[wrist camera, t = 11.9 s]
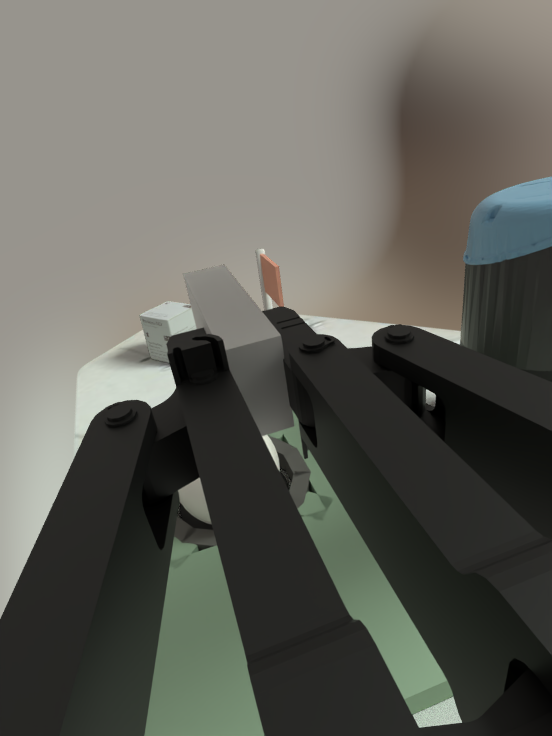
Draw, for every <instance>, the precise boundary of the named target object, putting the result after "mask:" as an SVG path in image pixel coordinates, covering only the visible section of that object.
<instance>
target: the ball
mask: <svg viewBox="0 0 552 736" xmlns="http://www.w3.org/2000/svg"><path fill="white" fill-rule="evenodd" d="M262 437H263V439H264V441H265V443H266V445H267V447H268V449H269V451H270V453H271V455H272V458H273V460H274V462H275V464H276V466H277V468H278V470H279V472H280V466H279V458H278V454H277V451H276V449H275V446H274V444H273V443H272V441H271V439H270V438H269V437H268V435H265V436H262ZM178 492H179V499H180V500H179V501H180V503H181V504H182V505H183V507H184V508H185V509H186V510H187V511H188V512H189V513H190V514H191V515H193V516H194V517H195V518H197V519H199V520H200V521H202V522H205V523H208V524H211V525H212V523H211V520H210V516H209V512H208V508H207V504H206V500H205V496H204V492H203V488H202V485H201V481H200V478H198V479H196V480H195V481H193V482H191V483H190V484H188V485H186V486H185V487H183V488H181V489H179V490H178Z"/></svg>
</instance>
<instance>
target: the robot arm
mask: <svg viewBox="0 0 552 736" xmlns="http://www.w3.org/2000/svg"><path fill="white" fill-rule="evenodd" d="M463 259H464V262H465V263H466V266H465V281H464V297H463V313H462V325H461V340H460V345H459V344H457V343H454V342H452V341H449V340H447V339H444V338H442V337H439V336H437V335H434V334H432V333H430V332H427V331H425V330H422V329H420V328H416V327H413V326H406V325H400V324H399V325H395V326H394V325H391V326H388V327H385V328H382V329H380V330H378V331H376V332H375V333H374V334H373V336H372V347H362V348H346V347H345V346H344V345H343V344H342V343H341V342H340V341H339V340H338V339H336V338H335V337H333V336H329V335H324V334H316V333H315V332H314V331H313V330H312V329H311V328H310V327H309V326H308V325H307V324H306V323H305V322H304V321H303V319H302V318H300V316H299V315H298V314H297V313H296V312H295V311H294V310H291V309H289V308H286V307H283V306H281V307H277V308H273V309H269V310H265V311H261V310H260V308H259V307H258V306H257V305H256V303H255V302H254V301H253V300H252V298H251V297H250V296H249V295H248V293H247V292H246V291H245V290H244V288H243V287H242V286H241V285H240V283H239V282H238V281H237V280H236V278H235V277H234V276H233V275H232V273H231V272H230V271H229V270H228V268H227V267H226V266H225V265H220V266H216V267H211V268H207V269H202V270H198V271H194V272H189V273H185V274H183V276H184V279H185V284H186V287H187V292H188V296H189V300H190V304H191V308H192V312H193V316H194V320H195V324H196V328H197V329H195V330H191V331H188V332H184V333H180V334H176V335H172V336H171V337H170V339H169V341H168V342H167V344H166V345H167V349H168V352H167V356H168V359H169V363H170V366H171V370H172V373H173V377H174V380H175V384H176V389H175V391H174V393H173V394H172V395H171V396H170V397H169V398H168V399H167V400H166V401H164V402H163V403H161V404H159V405H157V406H155V407H153V408H151V407H150V406H149V405H148V404H147V403H146V402H143V401H139V400H127V401H123V402H117V403H115V404H113V405H110V406H108V407H106V408H105V409H103V410H102V411H101V412H99V413H98V414H97V415H96V416H95V417H94V419H93V420H92V421H91V423H90V425H89V427H88V429H87V432H86V434H85V436H84V438H83V440H82V443H81V445H80V447H79V449H78V451H77V453H76V456H75V458H74V460H73V462H72V464H71V466H70V469H69V471H68V473H67V475H66V477H65V480H64V482H63V484H62V486H61V488H60V490H59V493H58V495H57V497H56V499H55V501H54V503H53V506H52V508H51V510H50V512H49V515H48V517H47V519H46V521H45V523H44V525H43V528H42V530H41V532H40V534H39V536H38V538H37V540H36V543H35V545H34V547H33V549H32V551H31V554H30V556H29V558H28V560H27V562H26V564H25V567H24V569H23V571H22V573H21V575H20V577H19V580H18V582H17V584H16V586H15V588H14V591H13V593H12V595H11V597H10V599H9V602H8V604H7V606H6V608H5V610H4V612H3V615H2V617H1V619H0V736H144V735H145V728H146V722H147V715H148V708H149V702H150V695H151V688H152V681H153V675H154V668H155V661H156V655H157V648H158V641H159V634H160V628H161V621H162V614H163V608H164V601H165V594H166V587H167V581H168V574H169V567H170V561H171V554H172V547H173V540H174V534H175V527H176V520H177V513H178V507H179V500H180V499H179V492H178V490H179V489H181V488H183V487H185V486H186V485H188V484H190V483H191V482H193V481H195V480H196V479H198V478H200V481H201V485H202V488H203V492H204V496H205V500H206V504H207V508H208V512H209V516H210V520H211V523H212V527H213V531H214V535H215V539H216V543H217V547H218V551H219V555H220V558H221V562H222V566H223V570H224V574H225V578H226V582H227V586H228V590H229V593H230V597H231V601H232V605H233V609H234V613H235V617H236V621H237V625H238V628H239V632H240V636H241V640H242V644H243V648H244V652H245V656H246V660H247V668H248V672H249V677H250V681H251V685H252V689H253V693H254V697H255V701H256V705H257V708H258V712H259V716H260V720H261V724H262V728H263V732H264V736H552V177H548V178H543V179H538V180H534V181H530V182H526V183H522V184H518V185H516V186H512V187H509V188H506V189H503V190H501V191H498V192H496V193H494V194H492V195H490V196H489V197H487V198H485V199H484V200H483V201H482V202H480V204H479V205H478V206H477V207H476V209H475V210H474V211H473V214H472V216H471V220H470V226H469V234H468V242H467V249H466V251H465V253H464V257H463ZM426 389H427V390H429V391H431V392H433V393H435V394H436V405H435V407H432V406H430V405H428V404H427V403H426ZM292 410H293V412H294V413H295V415H296V416H297V418H298V422H299V429H300V436H301V443H302V450H303V456H304V459H307V458H308V450H310V452H311V454H312V455H313V457H314V459H315V460H316V462H317V464H318V465H319V467H320V469H321V470H322V472H323V474H324V475H325V477H326V479H327V480H328V482H329V484H330V485H331V487H332V489H333V490H334V492H335V494H336V495H337V497H338V499H339V500H340V502H341V504H342V505H343V507H344V509H345V510H346V512H347V514H348V515H349V517H350V519H351V520H352V522H353V524H354V525H355V527H356V529H357V530H358V532H359V534H360V535H361V537H362V539H363V540H364V542H365V544H366V545H367V547H368V549H369V550H370V552H371V554H372V555H373V557H374V559H375V560H376V562H377V564H378V565H379V567H380V569H381V570H382V572H383V574H384V575H385V577H386V579H387V580H388V582H389V584H390V585H391V587H392V589H393V590H394V592H395V594H396V595H397V597H398V599H399V600H400V602H401V604H402V605H403V607H404V609H405V610H406V612H407V614H408V615H409V617H410V619H411V620H412V622H413V624H414V625H415V627H416V629H417V630H418V632H419V634H420V635H421V637H422V639H423V640H424V642H425V644H426V645H427V647H428V649H429V650H430V652H431V654H432V655H433V657H434V659H435V660H436V662H437V664H438V665H439V667H440V669H441V670H442V672H443V674H444V676H445V677H446V679H447V681H448V683H449V686H450V688H451V690H452V693H453V696H454V699H455V703H456V706H457V709H458V713H459V716H460V718H461V720H462V723H457V724H448V725H440V726H431V727H423V728H419V727H418V725H417V723H416V721H415V719H414V717H413V715H412V714H411V712H410V710H409V708H408V706H407V704H406V702H405V700H404V698H403V696H402V694H401V692H400V690H399V688H398V686H397V684H396V682H395V680H394V678H393V676H392V674H391V673H390V671H389V669H388V667H387V665H386V663H385V661H384V659H383V657H382V655H381V653H380V651H379V649H378V647H377V645H376V643H375V642H374V640H373V638H372V636H371V635H370V633H369V631H368V629H367V628H366V627H365V625H364V624H363V623H362V622H361V621H360V620H356V619H353V618H352V617H351V616H350V614H349V612H348V611H347V609H346V607H345V605H344V603H343V601H342V599H341V597H340V595H339V593H338V591H337V589H336V586H335V584H334V582H333V580H332V578H331V576H330V574H329V572H328V570H327V568H326V566H325V564H324V562H323V560H322V558H321V556H320V554H319V552H318V550H317V548H316V546H315V543H314V541H313V539H312V537H311V535H310V533H309V531H308V529H307V527H306V525H305V523H304V521H303V519H302V517H301V515H300V513H299V511H298V509H297V507H296V505H295V503H294V501H293V498H292V496H291V494H290V492H289V490H288V488H287V486H286V484H285V482H284V480H283V478H282V476H281V474H280V472H279V470H278V468H277V466H276V464H275V462H274V460H273V458H272V455H271V453H270V451H269V449H268V447H267V445H266V443H265V441H264V439H263V437H262V436H265V435H268V434H271V433H274V432H278V431H281V430H284V429H287V428H291V427H294V419H293V412H292Z"/></svg>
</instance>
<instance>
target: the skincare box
mask: <svg viewBox="0 0 552 736" xmlns="http://www.w3.org/2000/svg"><path fill="white" fill-rule="evenodd" d="M140 320H141V323H142V327H143V331H144V335H145V339H146V342H147V346H148V350H149V354H150V357H151V358H152V359H155V360H159V361H163V362H167V363H169V359H168V356H167V352H168V349H167V345H166V344H167V342H168V341H169V339H170V337H171V336H172V335H176V334H180V333H184V332H188V331H191V330H195V329H197V328H196V324H195V320H194V316H193V312H192V308H191V305H190V304H185V303H180V302H170V301H167V302H165V303H163V304H161V305H159V306H157V307H155V308H153V309H150V310H148V311H146V312H144V313H142V314H141V315H140Z"/></svg>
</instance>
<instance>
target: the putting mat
mask: <svg viewBox="0 0 552 736" xmlns="http://www.w3.org/2000/svg"><path fill="white" fill-rule="evenodd" d="M256 258H257V264H258V271H259V278H260V285H261V292H262V298H263V305H264V311H265V310H269V309H273V308H272V301H271V298H272V299H273V300H274V301H275V302H276V303H277V305H278V306H279V307H281V306H283V307H284V304H283V296H282V287H281V280H280V272H279V266H278V265H277V264H275V263H274V262H273V261H272V260H270V259H269V258H268V257H267V256H266V255H265V250H264V249H257V250H256ZM292 412H293V410H292ZM293 419H294V427H291V428H287V429H284V430H281V431H278V432H274V433H271V434H268V437H269V438H270V439H271V441H272V443H273V444H274V446H275V449H276V451H277V454H278V458H279V466H280V468H281V469H283V470H285V471H286V472H287V474H288V476H289V478H290V480H291V482H292V483H291V486H290V490H289V492H290V494H291V496H292V498H293V501H294V503H295V505H296V507H297V509H298V511H299V513H300V515H301V517H302V519H303V521H304V523H305V525H306V527H307V529H308V531H309V533H310V535H311V537H312V539H313V541H314V543H315V546H316V548H317V550H318V552H319V554H320V556H321V558H322V560H323V562H324V564H325V566H326V568H327V570H328V572H329V574H330V576H331V578H332V580H333V582H334V584H335V586H336V589H337V591H338V593H339V595H340V597H341V599H342V601H343V603H344V605H345V607H346V609H347V611H348V612H349V614H350V616H351V617H352V618H353V619H356V620H360V621H361V622H362V623H363V624H364V625H365V627H366V628H367V629H368V631H369V633H370V635H371V636H372V638H373V640H374V642H375V643H376V645H377V647H378V649H379V651H380V653H381V655H382V657H383V659H384V661H385V663H386V665H387V667H388V669H389V671H390V673H391V674H392V676H393V678H394V680H395V682H396V684H397V686H398V688H399V690H400V692H401V694H402V696H403V698H404V700H405V702H406V704H407V706H408V708H409V710H410V712H411V714H412V715H413V714H415V713H417V712H419V711H421V710H424V709H426V708H428V707H430V706H433V705H435V704H437V703H439V702H442V701H444V700H446V699H448V698H450V697H453V693H452V690H451V688H450V686H449V683H448V681H447V679H446V677H445V676H444V674H443V672H442V670H441V669H440V667H439V665H438V664H437V662H436V660H435V659H434V657H433V655H432V654H431V652H430V650H429V649H428V647H427V645H426V644H425V642H424V640H423V639H422V637H421V635H420V634H419V632H418V630H417V629H416V627H415V625H414V624H413V622H412V620H411V619H410V617H409V615H408V614H407V612H406V610H405V609H404V607H403V605H402V604H401V602H400V600H399V599H398V597H397V595H396V594H395V592H394V590H393V589H392V587H391V585H390V584H389V582H388V580H387V579H386V577H385V575H384V574H383V572H382V570H381V569H380V567H379V565H378V564H377V562H376V560H375V559H374V557H373V555H372V554H371V552H370V550H369V549H368V547H367V545H366V544H365V542H364V540H363V539H362V537H361V535H360V534H359V532H358V530H357V529H356V527H355V525H354V524H353V522H352V520H351V519H350V517H349V515H348V514H347V512H346V510H345V509H344V507H343V505H342V504H341V502H340V500H339V499H338V497H337V495H336V494H335V492H334V490H333V489H332V487H331V485H330V484H329V482H328V480H327V479H326V477H325V475H324V474H323V472H322V470H321V469H320V467H319V465H318V464H317V462H316V460H315V459H314V457H313V455H312V454H311V452H310V450H308V458H307V459H304V456H303V450H302V443H301V436H300V429H299V422H298V418H297V416H296V415H295V413H294V412H293ZM280 474H281V476H282V478H283V480H284V482H285V484H286V486H287V488H288V485H287V481H286V479H285V477H284V476H283V474H282V473H281V472H280ZM180 513H181V516H182V519H181V518H179V517H178V516H177V520H176V527H175V534H174V540H173V547H172V554H171V561H170V567H169V574H168V581H167V587H166V594H165V601H164V608H163V614H162V621H161V628H160V634H159V641H158V648H157V655H156V661H155V668H154V675H153V681H152V688H151V695H150V702H149V708H148V715H147V722H146V728H145V735H144V736H264V732H263V728H262V724H261V720H260V716H259V712H258V708H257V705H256V701H255V697H254V693H253V689H252V685H251V681H250V677H249V672H248V668H247V660H246V656H245V652H244V648H243V644H242V640H241V636H240V632H239V628H238V625H237V621H236V617H235V613H234V609H233V605H232V601H231V597H230V593H229V590H228V586H227V582H226V578H225V574H224V570H223V566H222V562H221V558H220V555H219V551H218V547H217V543H216V539H215V535H214V531H213V527H212V525H211V524H208V523H205V522H202V521H200V520H199V519H197V518H195V517H194V516H193V515H191V514H190V513H189V512H188V511H187V510H186V509H185V508H184V507H183V505H182V504H181V503H180Z"/></svg>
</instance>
